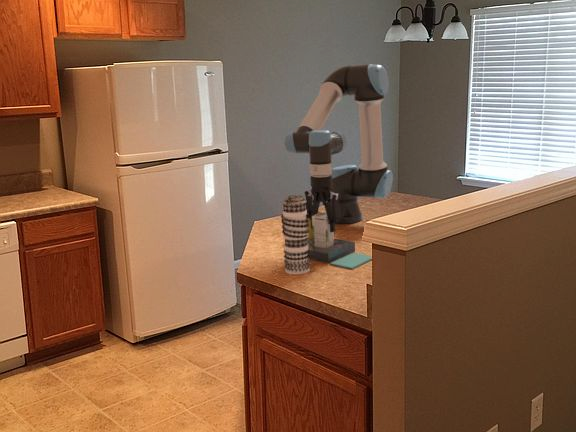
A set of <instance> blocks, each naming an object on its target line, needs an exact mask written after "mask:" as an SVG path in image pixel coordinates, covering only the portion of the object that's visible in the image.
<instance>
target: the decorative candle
mask: <svg viewBox="0 0 576 432" xmlns="http://www.w3.org/2000/svg"><path fill="white" fill-rule="evenodd" d="M306 202H307V200H306V198H304V196H302V195H300V194H299V195H298V194H296V195H295V194H293V195H287V196H286V197H285V198H284V200H282V201H281V203H282V208H283V209H282V213H281V214H280V219H281V221H280V222H281V223H282V225H281V229H282V234H283V237H282V238H283V239H284V250H283V253H284V255H283V257H284V261H283V263H284V265H283V266H284V272H285V273H286V274H289V275H301V274H306V273H309V272H310V271H311V269H310V266H311V264H310V263H311V260H310V259H309V258H308V257H309V256H310V255H309V251H310V250H309V249H308V243H307V237H308V236H309V235H308V232H309V230H307V229H306V227H308V226H309V224H307V222H309V219H306V216H309V214H308V213H307V209H306Z"/></svg>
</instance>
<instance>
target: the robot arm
mask: <svg viewBox="0 0 576 432" xmlns="http://www.w3.org/2000/svg"><path fill="white" fill-rule="evenodd" d="M389 86H390V81H389V75H388V72H387V70H386V68H384V66H383V65H381V64H372V63H370V64H356V65H344V66H341V67H339V68H338V69H335V70H334V71H332V72H331V73H330V74H329V75H328V76H326V78H325V79H324V80H323V82H322V83H321V85H320V87H319V93H318V95H317V97H316V98H315V100H314V101H313V103H312V104H311V106H310V108H309V110H308V112H307V113H306V115H305V117H304V118H303V120H302V121H301V123H300V125H299V126H298V128H297V129H296V131H295V132H294V131H291V132H288V133H287V134H285V137H284V141H283V142H284V144H283V145H284V148H285V150H286V151H287V152H288V153H293V154H309V172H310V175H311V176H310V179H309V180H310V187H311V189H309V190H305V191H304V196H305V200H307V202H306V209H307V213H308V214H309V216H306V218H309V219H310V220H311V229H312V216H313V215H316V214H318V211H319V210H320V209H319V208H320V204H321V203H322V205H323V206H324V209H325V213H327V217H328V220H329V223H327V232H328V241H329V242H330V241H332V240H334V238H335V232H336V224H353V223H358V222H360V221H362V220H363V212H362V210H361V207H360V205H359V202H358V201H359V200H358V198H371V199H372V198H374V199H385V198H387V197H388V195H389V194H390V192H391V190H392V187H393V180H394V175H393V172H392V170H390V169H388V164H387V163H386V162H385V161H384V151H383V150H384V149H383V131H382V128H383V127H382V111H381V110H382V109H381V108H382V107H381V104H382V102H383V101H384V99H385V96H386V95H387V94H388V92H389ZM345 96H354V102H356V103H357V104H358V113H359V130H360V131H359V132H360V133H359V134H360V147H361V148H360V150H361V163H360V164H359V166H357V165H356V164H346V165H341V166H337V167H332V155H336V154H340V153H341V152H343V151H344V150H345V148H347V145H348V142H347V137H346V135H345V134H344V133H342V132H341V131H332V132H330V130H327V129H322V128H323V126H324V124H325V123H326V121H327V120H328V117H329V116H330V114H331V112H332V110H333V109H334V107H335V105H336V104H337V103H338V102H340V101H341V100H342V98H343V97H345Z"/></svg>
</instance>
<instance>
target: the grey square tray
mask: <svg viewBox="0 0 576 432" xmlns="http://www.w3.org/2000/svg"><path fill="white" fill-rule="evenodd" d="M307 243H308V249H309V250H310V251H309V255H310V256H309V257H308V258H309V259H310V261H315V262H319V263H320V262H321V263H324V264H325V263H326V264H330V263H332V262H334V261H336V260H338V259H341V258H343V257H345V256H347V255H350V254H352V253H356V242H355V241H351V240H345V239H340V238H339V239H338V238H335V237H334V245H333V246H331V247H328V248H326V249H325V248H320V247H315V246H313V239H310V240H307Z"/></svg>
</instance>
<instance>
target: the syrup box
mask: <svg viewBox="0 0 576 432" xmlns="http://www.w3.org/2000/svg"><path fill="white" fill-rule="evenodd" d="M321 212H322V213H318V214H316V215H313V216H312V239H313V246H315V247H320V248H325V249H326V248H328V247H331V246H333V245H334V240H332V241H330V242H329V241H328V232H327V223H329V220H328V217H327V213H326V212H324V211H321ZM323 212H324V213H323Z"/></svg>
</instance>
